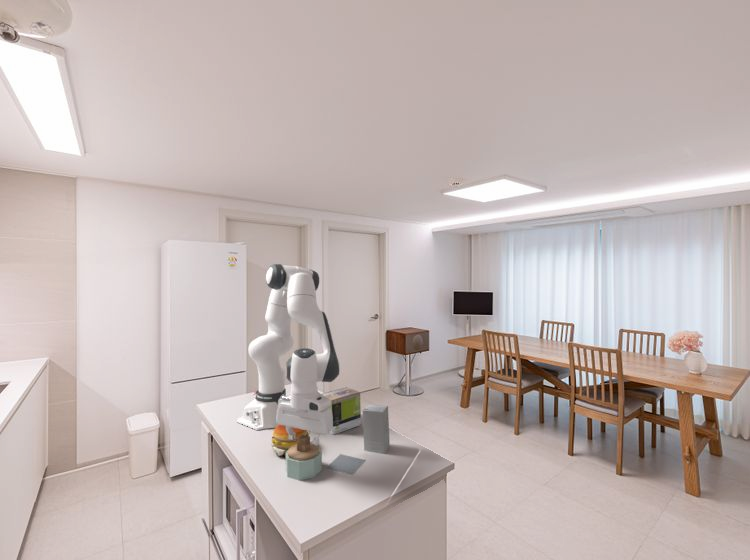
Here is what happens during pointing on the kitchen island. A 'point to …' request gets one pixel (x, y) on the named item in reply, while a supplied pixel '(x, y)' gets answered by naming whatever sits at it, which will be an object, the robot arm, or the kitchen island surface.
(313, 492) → the kitchen island surface
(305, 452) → the lid
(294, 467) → the bowl
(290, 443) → the burger
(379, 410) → the skincare box
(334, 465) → the mat
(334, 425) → the tea box
